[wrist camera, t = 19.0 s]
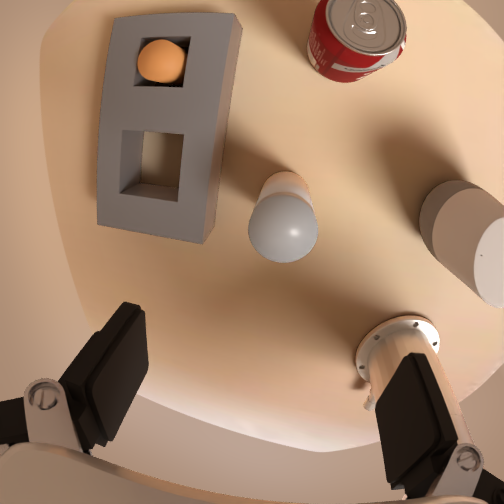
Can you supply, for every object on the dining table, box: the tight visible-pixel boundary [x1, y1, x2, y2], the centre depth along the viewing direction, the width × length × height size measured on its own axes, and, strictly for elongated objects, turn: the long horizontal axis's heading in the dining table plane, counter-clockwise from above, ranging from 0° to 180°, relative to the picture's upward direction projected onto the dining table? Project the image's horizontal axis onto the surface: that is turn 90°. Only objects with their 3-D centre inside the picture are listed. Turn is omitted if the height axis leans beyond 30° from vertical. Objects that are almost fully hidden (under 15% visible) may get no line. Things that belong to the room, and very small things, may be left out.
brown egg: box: [138, 40, 188, 85], centre depth 25 cm, size 4×4×5 cm
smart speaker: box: [419, 180, 504, 308], centre depth 24 cm, size 10×9×14 cm
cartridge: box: [248, 171, 318, 263], centre depth 27 cm, size 5×5×11 cm
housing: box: [97, 13, 243, 244], centre depth 28 cm, size 22×12×5 cm, turn 171°
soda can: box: [307, 0, 407, 83], centre depth 20 cm, size 7×7×12 cm
